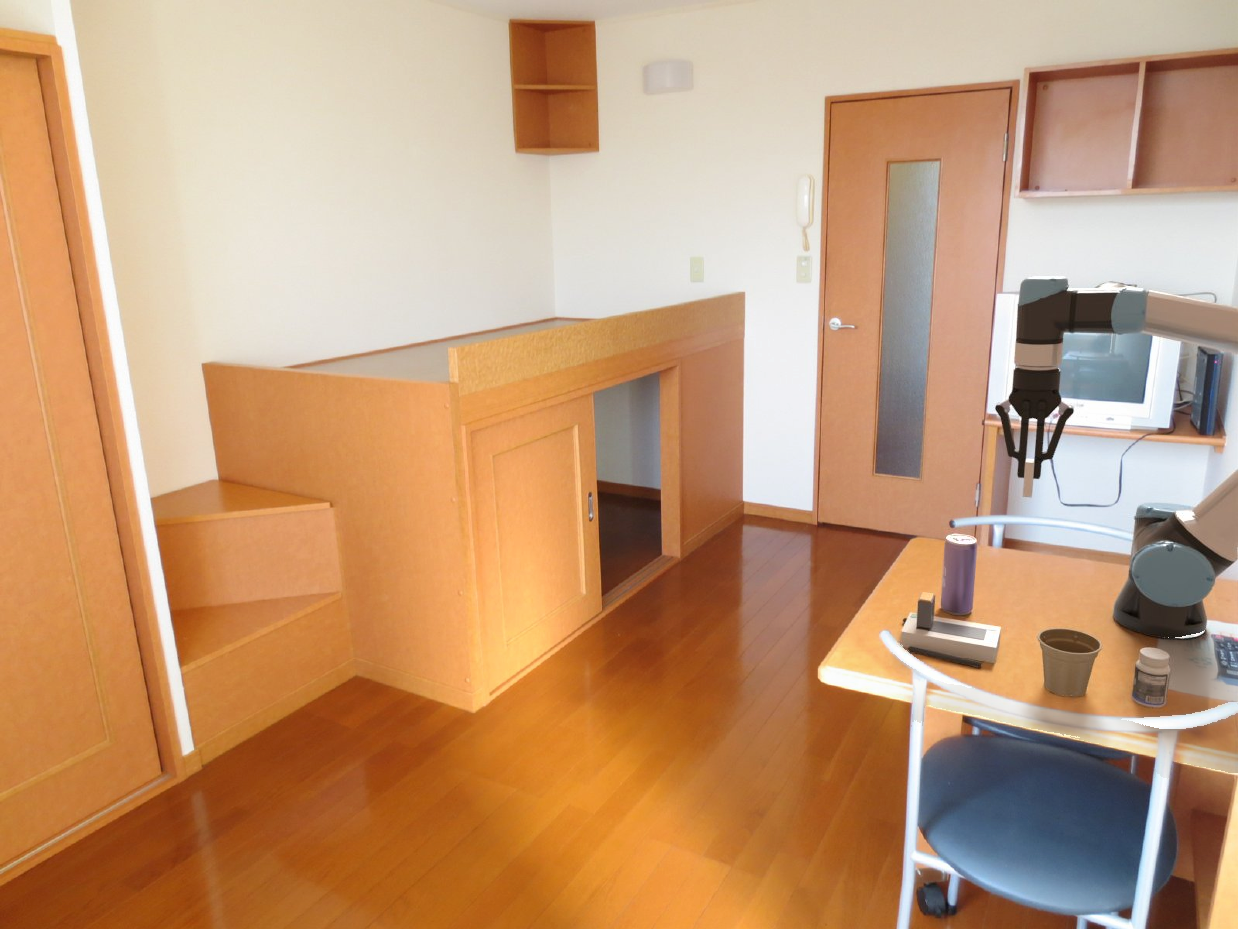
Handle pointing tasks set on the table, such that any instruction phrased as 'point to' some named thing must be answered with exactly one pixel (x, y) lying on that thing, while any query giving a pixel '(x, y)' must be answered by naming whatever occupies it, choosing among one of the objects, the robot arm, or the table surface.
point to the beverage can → (958, 574)
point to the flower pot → (1068, 660)
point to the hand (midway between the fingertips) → (1027, 495)
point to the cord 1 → (945, 657)
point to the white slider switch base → (953, 638)
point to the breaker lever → (925, 610)
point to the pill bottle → (1151, 678)
